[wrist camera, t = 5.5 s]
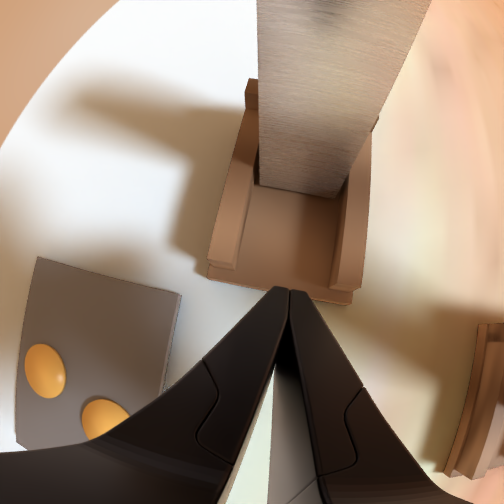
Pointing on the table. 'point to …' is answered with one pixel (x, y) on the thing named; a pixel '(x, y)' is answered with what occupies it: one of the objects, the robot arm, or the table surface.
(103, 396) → the pattern card
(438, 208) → the table surface
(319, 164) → the lever
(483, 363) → the track
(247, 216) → the track
